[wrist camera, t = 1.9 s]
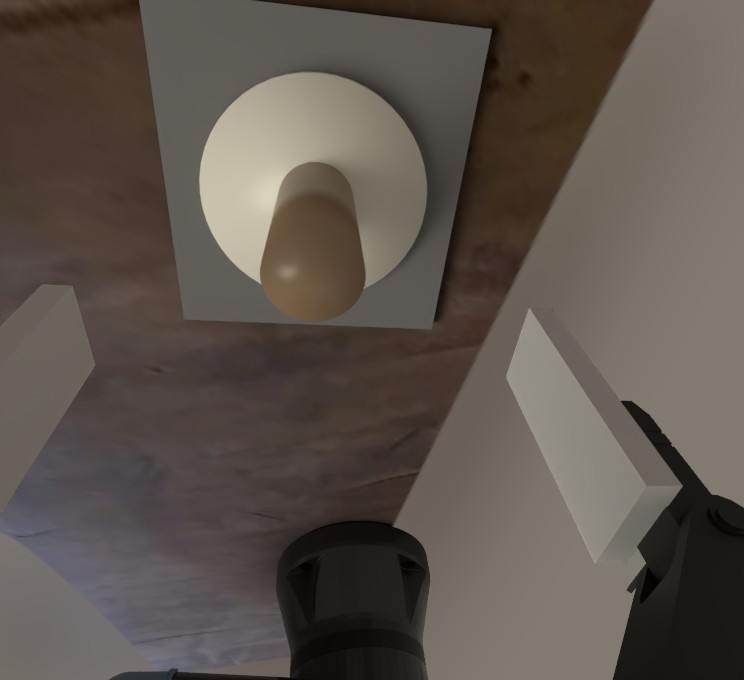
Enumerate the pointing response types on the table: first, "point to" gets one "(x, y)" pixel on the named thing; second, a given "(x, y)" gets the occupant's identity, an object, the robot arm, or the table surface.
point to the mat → (293, 54)
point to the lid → (313, 190)
